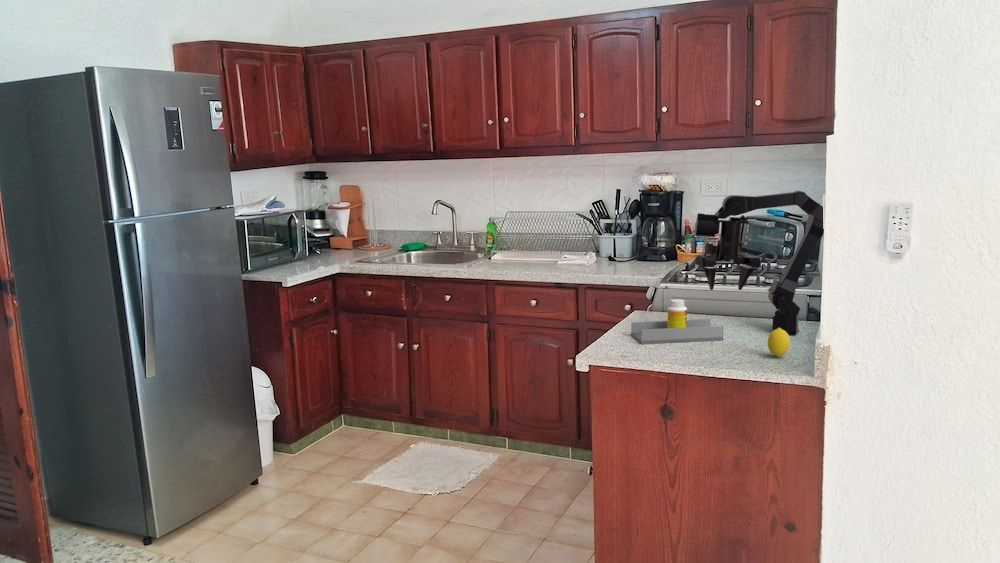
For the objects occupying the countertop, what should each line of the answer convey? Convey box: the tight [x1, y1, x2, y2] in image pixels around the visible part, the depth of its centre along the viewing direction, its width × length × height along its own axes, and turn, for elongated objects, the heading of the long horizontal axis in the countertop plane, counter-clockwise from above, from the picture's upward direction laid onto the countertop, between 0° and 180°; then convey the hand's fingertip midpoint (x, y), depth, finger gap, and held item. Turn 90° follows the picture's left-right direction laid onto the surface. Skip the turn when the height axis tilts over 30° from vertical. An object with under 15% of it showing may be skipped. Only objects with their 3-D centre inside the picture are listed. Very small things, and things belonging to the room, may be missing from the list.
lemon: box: [767, 328, 791, 358], centre depth 206 cm, size 6×6×8 cm
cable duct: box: [630, 318, 724, 345], centre depth 231 cm, size 24×11×4 cm, turn 95°
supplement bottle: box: [666, 298, 688, 328], centre depth 230 cm, size 6×6×10 cm
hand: (725, 289), depth 235 cm, fingers open, 9 cm apart
